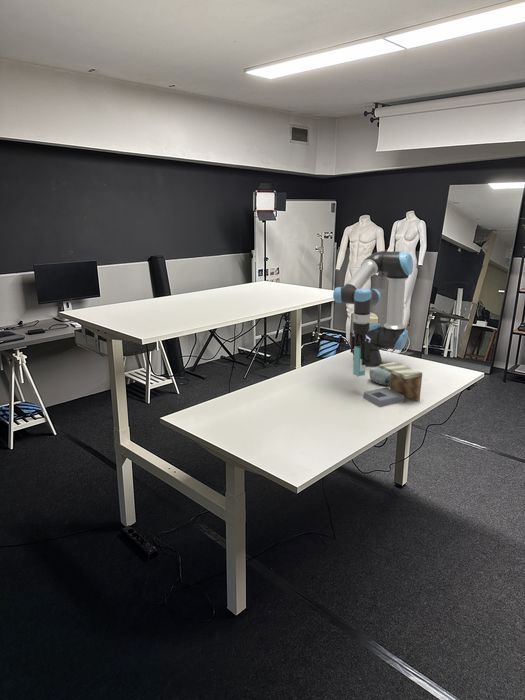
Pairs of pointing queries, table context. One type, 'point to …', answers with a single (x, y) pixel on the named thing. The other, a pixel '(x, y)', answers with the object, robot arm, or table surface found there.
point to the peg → (357, 361)
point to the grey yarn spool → (380, 376)
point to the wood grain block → (404, 380)
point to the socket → (383, 396)
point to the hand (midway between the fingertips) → (359, 369)
